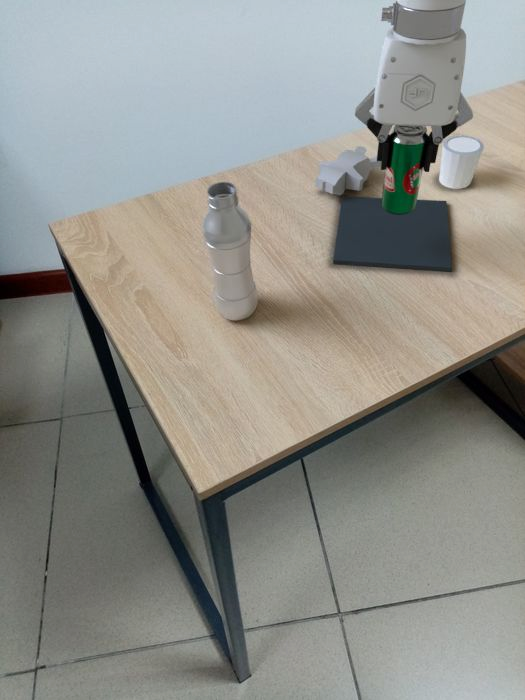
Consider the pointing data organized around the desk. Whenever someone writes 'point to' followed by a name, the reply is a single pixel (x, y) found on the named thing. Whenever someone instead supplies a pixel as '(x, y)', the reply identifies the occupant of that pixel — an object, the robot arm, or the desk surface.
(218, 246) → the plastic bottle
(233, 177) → the desk surface
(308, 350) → the desk surface
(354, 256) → the mat
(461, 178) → the shot glass
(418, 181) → the soda can
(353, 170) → the grey irregular branched block
